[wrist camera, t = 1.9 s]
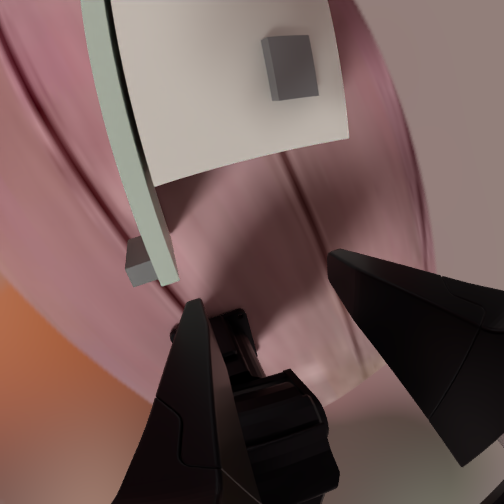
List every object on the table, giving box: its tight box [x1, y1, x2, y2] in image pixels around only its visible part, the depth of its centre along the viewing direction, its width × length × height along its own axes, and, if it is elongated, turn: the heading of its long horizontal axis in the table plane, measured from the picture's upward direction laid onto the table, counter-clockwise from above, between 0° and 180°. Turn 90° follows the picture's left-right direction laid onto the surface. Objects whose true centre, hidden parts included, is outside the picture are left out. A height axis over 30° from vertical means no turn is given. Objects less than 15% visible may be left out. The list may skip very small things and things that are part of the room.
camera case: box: [111, 0, 349, 187], centre depth 11 cm, size 15×10×6 cm, turn 10°
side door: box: [80, 0, 180, 287], centre depth 12 cm, size 19×3×5 cm, turn 10°
